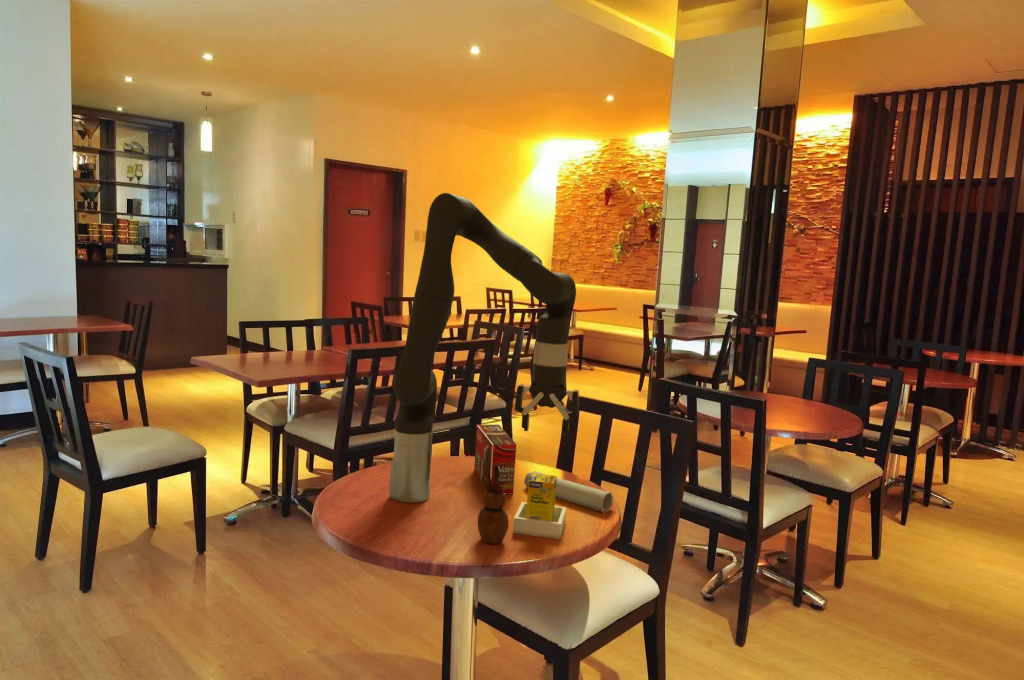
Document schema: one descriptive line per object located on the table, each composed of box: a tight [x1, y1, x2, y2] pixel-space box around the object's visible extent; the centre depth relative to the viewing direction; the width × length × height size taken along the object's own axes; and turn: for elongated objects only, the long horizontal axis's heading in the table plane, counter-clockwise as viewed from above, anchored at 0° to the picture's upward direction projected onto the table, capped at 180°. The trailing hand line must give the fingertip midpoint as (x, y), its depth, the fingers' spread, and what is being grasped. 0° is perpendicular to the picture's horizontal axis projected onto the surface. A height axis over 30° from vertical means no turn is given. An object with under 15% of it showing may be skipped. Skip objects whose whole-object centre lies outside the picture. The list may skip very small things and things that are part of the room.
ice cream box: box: [473, 424, 517, 494], centre depth 188 cm, size 20×6×13 cm, turn 14°
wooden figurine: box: [477, 472, 509, 545], centre depth 149 cm, size 7×6×15 cm
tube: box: [523, 471, 614, 514], centre depth 179 cm, size 5×5×25 cm
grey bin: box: [512, 501, 567, 540], centre depth 159 cm, size 11×11×4 cm
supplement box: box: [526, 473, 558, 522], centre depth 159 cm, size 6×6×11 cm
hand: (544, 432), depth 157 cm, fingers open, 8 cm apart
